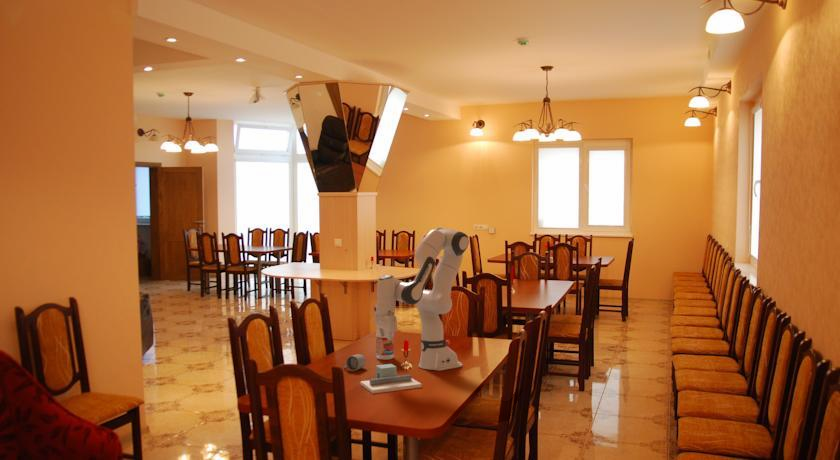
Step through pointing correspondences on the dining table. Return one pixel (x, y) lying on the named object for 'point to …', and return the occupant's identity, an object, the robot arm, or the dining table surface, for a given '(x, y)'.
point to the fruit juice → (384, 346)
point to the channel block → (386, 370)
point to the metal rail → (390, 380)
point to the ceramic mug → (355, 362)
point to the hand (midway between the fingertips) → (385, 338)
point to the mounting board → (390, 386)
